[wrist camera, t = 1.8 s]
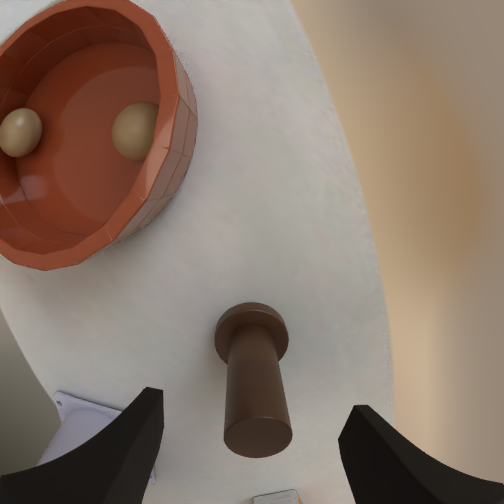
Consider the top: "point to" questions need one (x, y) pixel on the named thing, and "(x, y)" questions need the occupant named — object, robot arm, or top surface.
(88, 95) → the bowl
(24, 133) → the bead
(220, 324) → the pestle
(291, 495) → the cosmetic box
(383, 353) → the top surface
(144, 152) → the bead
